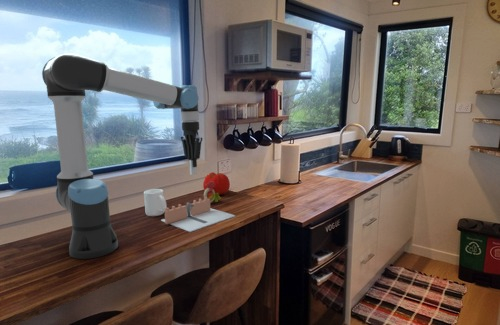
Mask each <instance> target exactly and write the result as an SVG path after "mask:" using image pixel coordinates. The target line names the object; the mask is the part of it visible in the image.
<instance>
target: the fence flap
mask: <svg viewBox="0 0 500 325" xmlns="http://www.w3.org/2000/svg"><path fill="white" fill-rule="evenodd" d="M210 208H211V203H210V199H207V197H204V196H203V200H202V198H198V201H197V200H196V199H194V200H193V201H192V203H190V211H191V215H192V216H193V215H197V214H200V213H203V212H206V211H209V210H210Z"/></svg>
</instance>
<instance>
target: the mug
mask: <svg viewBox="0 0 500 325" xmlns="http://www.w3.org/2000/svg"><path fill="white" fill-rule="evenodd" d="M143 201H144V211H145V212H144V213H145V214H146V216H148V217H157V216H161V215H164V214H165V212H164V211H166V208H167V200H166V199H165V197H164V189H161V188H151V189H150V188H149V189H147V190H144V191H143Z"/></svg>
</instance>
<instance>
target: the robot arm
mask: <svg viewBox="0 0 500 325" xmlns="http://www.w3.org/2000/svg"><path fill="white" fill-rule="evenodd" d="M41 71H42V72H41V75H42V76H41V77H42V80H43V82H44V85H45V86H46V94H47V98H48V99H49V100H51V102H52V103H53V109H54V111H53V112H54V117H55V118H54V119H55V128H56V136H57V144H58V156H59V163H60V164H59V165H60V172H59V173H58V174H57V175H56V181H57V182H56V183H57V186H56V188H55V197H56V200H57V202H58V204H59V205H60V206H61V207H62V208H64V209H65V210H67V211H69V212H70V218H71V224H72V225H71V226H72V233H71V238H70V242H69V246H68V252H69V253H68V254H69V256H70V257H71V258H74V259H78V260H88V259H96V258H100V257H103V256H106V255H109V254H111V253H113V252H114V251H116V250H117V249H118V248H119V241H118V237H117V235H116V233H115V231H114V228H113V227H112V224H111V214H110V204H109V202H110V201H109V190H108V186H107V184H106V182H104V181H103V180H101V179H98V178H97V179H96V178H94V172H93V171H91V170H90V169H89V167H88V166H89V164H88V157H87V147H86V136H85V128H84V127H85V125H84V116H83V106H82V102H83V101H84V99H85V98H86V96H87V95H86V91H93V92H97V93H101V92H103V91H106V92H110V93H115V94H120V95H124V96H129V97H133V98H136V99H142V100H145V101H149V102H152V103H153V106H154V107H155V108H156V109H157V110H158V109H159V110H160V109H161V110H167V109H170V110H171V109H180V117H181V118H180V119H181V121H182V122H181V129H182V132H183V136H180V140H181V142H182V147H183V151H184V157H185V158H186V159H187V160H188V165H189V175H190V176H191V175H192V176H193V175H197V172H198V171H197V167H198V162H197V160H198V159H201V149H202V142H203V137H200V135H199V132H198V131H199V130H200V122H199V119H200V118H199V115H200V114H199V94H198V88H197V85H195V84H193V85H192V84H189V85H187V84H186V85H185V84H184V85H180V86H176V85H172V84H169V83H166V82H161V81H158V80H154V79H151V78H148V77H144V76H140V75H138V74H137V75H136V74H133V73H130V72H128V71H127V72H126V71H122V70H118V69H117V68H116V69H115V68H112V67H109V66H108V65H107V64H106V63H105V62H102V61H100V60H99V61H98V60H97V59H92V58H90V57H88V56H87V57H86V56H83V55H80V54H76V53H70V52H68V53H62V54H60V55H58V56H54V57H53V58H51V59H49V60H48V61H47V62H46V63H45V64H44V66H43V68H42V70H41Z"/></svg>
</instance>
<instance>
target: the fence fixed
mask: <svg viewBox="0 0 500 325" xmlns="http://www.w3.org/2000/svg"><path fill="white" fill-rule="evenodd" d="M190 204H191V202H188V201H187V202H186V205H182V204H180V203H178V204H177V207H176V206H175V205H172V206H171V209H170V208H169V207H166V210H165V211H164V219H165V222H164V224H165V225H170V224H169V223H172V222H175V221H179V220H182V219H185V218H187V217H191V212H190V211H191V209H190Z"/></svg>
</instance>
